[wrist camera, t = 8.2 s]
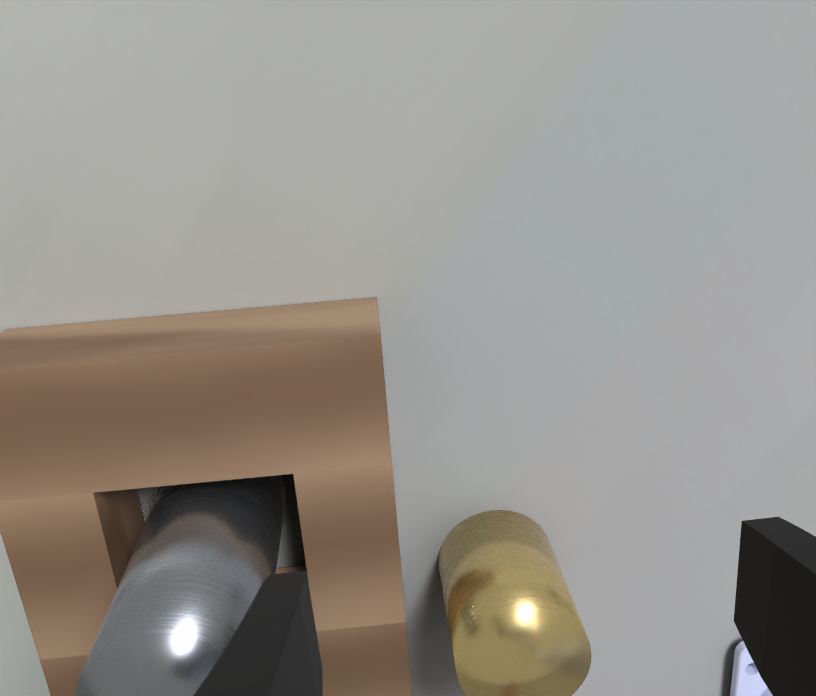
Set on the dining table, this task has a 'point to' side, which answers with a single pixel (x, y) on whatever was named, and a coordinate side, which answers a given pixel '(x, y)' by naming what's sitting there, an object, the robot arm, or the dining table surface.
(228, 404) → the collar block
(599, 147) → the dining table surface
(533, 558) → the brass pin short
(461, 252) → the dining table surface
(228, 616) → the steel pin long
